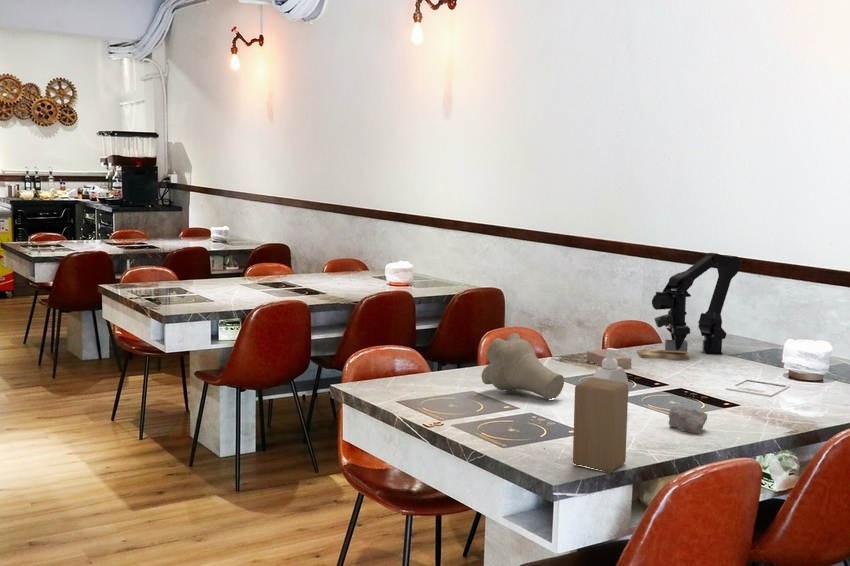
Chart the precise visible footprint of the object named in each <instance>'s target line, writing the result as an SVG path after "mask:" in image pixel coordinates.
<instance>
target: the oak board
mask: <svg viewBox="0 0 850 566" xmlns="http://www.w3.org/2000/svg"><path fill="white" fill-rule="evenodd" d="M636 353H637V355H639V357H640V359H641V358H642V359H673V360H674V359H677V360H680V359H682V360H683V359H684V360H690V355H689V354H688V352H687V353H676V352H666V351H665V349H649V348H648V349H645V348H643V349H641V348H637V349H636Z"/></svg>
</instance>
